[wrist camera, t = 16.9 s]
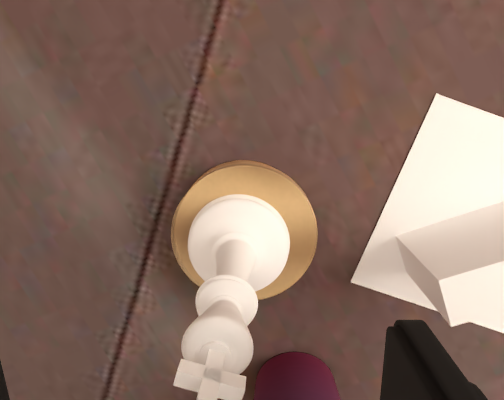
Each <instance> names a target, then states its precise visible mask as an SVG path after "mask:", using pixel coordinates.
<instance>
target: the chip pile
mask: <svg viewBox="0 0 504 400" xmlns="http://www.w3.org/2000/svg"><path fill="white" fill-rule="evenodd" d="M232 194H244V195H250V196H254V197H257V198H259V199H261V200H263V201H265V202H267V203H268V204H270V205H271V206H272V207H273V208H275V209H276V210H277V211H278V213H279V214H280V215H281V217H282V218H283V220H284V221H285V223H286V226H287V228H288V232H289V237H290V249H289V254H288V259H287V262H286V265H285V267H284V269H283V270H282V272H281V274H280V275H279V276H278V277H277V278H276V279H275V280H274V281H273V282H272V283H271V284H269V285H268V286H266V287H265V288H263V289H261V290H258V291H255V292H256V295H257V298H258V300H261V299H265V298H269V297H272V296H275V295H277V294H279V293H281V292H283V291H285V290H286V289H288V288H289V287H291V286H292V285H293V284H295V283H296V282H297V281H298V280H299V279H300V278H301V277H302V275H303V274H304V273H305V271H306V270H307V269H308V267H309V265H310V263H311V261H312V259H313V256H314V254H315V250H316V246H317V237H318V233H317V223H316V218H315V215H314V212H313V209H312V206H311V204H310V202H309V200H308V198H307V196H306V195H305V193H304V192H303V190H302V189H301V188H300V187H299V185H298V184H297V183H296V182H295V181H294V180H292V179H291V178H290V177H289V176H287V175H286V174H284V173H283V172H281V171H279V170H277V169H275V168H273V167H271V166H269V165H267V164H264V163H261V162H256V161H251V160H236V161H230V162H225V163H223V164H220V165H217V166H215V167H213V168H211V169H210V170H208V171H207V172H205V173H204V174H203V175H202V176H201V177H200V178H198V179H197V180H196V182H195V183H194V184H193V185H192V186H191V188H190V189H189V191H188V192H187V193H186V195H185V196H184V197H183V198H182V200H181V201H180V203H179V205H178V206H177V209H176V211H175V213H174V216H173V220H172V225H171V242H172V248H173V251H174V255H175V257H176V259H177V262H178V264H179V265H180V267H181V268H182V270H183V271H184V273H185V274H186V275H187V276H188V277H189V278H190V279H191V280H192V281H193V282H194V283H195V284H197V285H198V286H199V287H200V286H201V285H202V284H203V283H204V282H205V281H204V280H203V279H202V278H201V277H200V276H199V275H198V273H197V272H196V271H195V269H194V267H193V265H192V263H191V261H190V258H189V253H188V237H189V231H190V227H191V225H192V222H193V220H194V218H195V217H196V215H197V214H198V212H199V211H200V210H201V209H202V208H203V207H204V206H205V205H207V204H208V203H210V202H211V201H213V200H215V199H217V198H219V197H222V196H226V195H232Z"/></svg>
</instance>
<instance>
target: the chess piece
mask: <svg viewBox="0 0 504 400" xmlns="http://www.w3.org/2000/svg"><path fill="white" fill-rule="evenodd" d="M289 249H290V237H289V232H288V228H287V226H286V223H285V221H284V220H283V218H282V217H281V215H280V214H279V213H278V211H277V210H276V209H275V208H273V207H272V206H271V205H270V204H268V203H267V202H265V201H263V200H261V199H259V198H257V197H254V196H250V195H244V194H232V195H226V196H222V197H219V198H217V199H215V200H213V201H211V202H210V203H208V204H207V205H205V206H204V207H203V208H202V209H201V210H200V211H199V212H198V214H197V215H196V217H195V218H194V220H193V222H192V225H191V227H190V231H189V237H188V253H189V258H190V261H191V263H192V265H193V267H194V269H195V271H196V272H197V273H198V275H199V276H200V277H201V278H202V279H203V280H204V281H205V282H204V283H203V284H202V285H201V286H200V288H199V289H198V291H197V294H196V299H195V303H196V309H197V313H198V316H199V317H198V318H196V319H195V320H194V321H193V322H192V323H191V324H190V325H189V327H188V328H187V329H186V331H185V333H184V335H183V338H182V343H181V350H182V355H183V358H184V359H181V361H180V364H179V367H178V370H177V373H176V376H175V380H174V384H173V386H176V387H180V388H183V389H187V390H191V391H195V392H198V395H197V399H196V400H217V398H220V399H224V400H242V398H243V395H244V392H245V387H246V376H242V375H239V374H240V373H242V372H243V371H244V370H245V369H246V368H247V367H248V365H249V364H250V362H251V359H252V356H253V341H252V337H251V334H250V332H249V330H248V328H247V325H249V324H250V322H251V321H252V320H253V318H254V317H255V315H256V312H257V309H258V298H257V295H256V292H255V291H258V290H261V289H263V288H265V287H266V286H268V285H269V284H271V283H272V282H273V281H274V280H275V279H276V278H277V277H278V276H279V275H280V274H281V272H282V270H283V269H284V267H285V265H286V262H287V259H288V254H289Z"/></svg>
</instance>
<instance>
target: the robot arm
mask: <svg viewBox="0 0 504 400" xmlns="http://www.w3.org/2000/svg"><path fill="white" fill-rule="evenodd" d="M0 400H10V399H9V395H8V390H7V386H6V382H5V378H4V374H3V370H2V365H1V361H0ZM380 400H488V399H487V398H486V397H485V395H484V394H483V393H482V391H481V390H480V389H479V388H478V387H477V386H476V385H475V384H473V383H471V382H468V380H467V379H466V378H465V376H464V375H463V373H462V372H461V371H460V369H459V368H458V367H457V365H456V364H455V362H454V361H453V360H452V358H451V357H450V356H449V354H448V353H447V352H446V350H445V349H444V347H443V346H442V345H441V343H440V342H439V341H438V339H437V338H436V337H435V335H434V334H433V332H432V331H431V330H430V328H429V327H428V326H427V324H426V323H425V322H424V321H423V320H397V321H396V322H395V324H394V327H388V328H387V332H386V343H385V353H384V364H383V375H382V385H381V396H380Z"/></svg>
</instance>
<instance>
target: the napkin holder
mask: <svg viewBox="0 0 504 400" xmlns="http://www.w3.org/2000/svg"><path fill="white" fill-rule="evenodd" d="M351 283H354V284H357V285H360V286H363V287H366V288H369V289H372V290H375V291H378V292H381V293H384V294H387V295H390V296H393V297H396V298H399V299H402V300H405V301H408V302H411V303H414V304H417V305H420V306H423V307H426V308H429V309H432V310H435V311H439V313H440V314H441V315H442V316H443V318H444V319H445V320H446V321H447V322H448V324H449V325H450V326H451V327H452V326H456V325H460V324H463V323H467V322H472V323H475V324H478V325H481V326H484V327H487V328H490V329H493V330H496V331H499V332H502V333H504V118H502V117H500V116H497V115H494V114H491V113H489V112H486V111H483V110H480V109H478V108H475V107H472V106H469V105H466V104H464V103H461V102H458V101H455V100H453V99H450V98H447V97H444V96H441V95H439V94H436V95H435V98H434V100H433V102H432V104H431V106H430V109H429V111H428V113H427V115H426V117H425V119H424V122H423V124H422V126H421V128H420V130H419V133H418V135H417V137H416V139H415V141H414V144H413V146H412V148H411V150H410V152H409V155H408V157H407V159H406V161H405V163H404V166H403V168H402V170H401V172H400V174H399V176H398V179H397V181H396V183H395V185H394V187H393V190H392V192H391V194H390V196H389V198H388V201H387V203H386V205H385V207H384V209H383V212H382V214H381V216H380V218H379V220H378V222H377V225H376V227H375V229H374V231H373V233H372V236H371V238H370V240H369V242H368V244H367V247H366V249H365V251H364V253H363V255H362V258H361V260H360V262H359V264H358V266H357V269H356V271H355V273H354V275H353V277H352V279H351Z"/></svg>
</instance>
